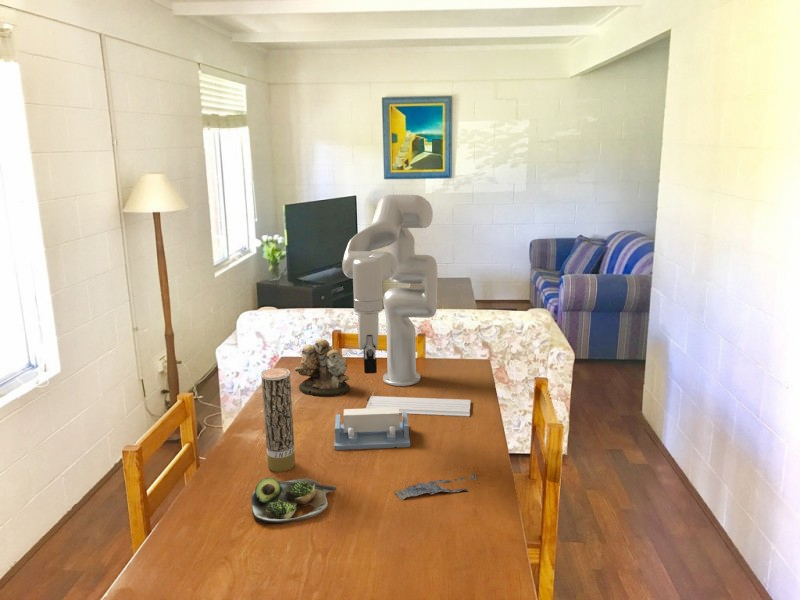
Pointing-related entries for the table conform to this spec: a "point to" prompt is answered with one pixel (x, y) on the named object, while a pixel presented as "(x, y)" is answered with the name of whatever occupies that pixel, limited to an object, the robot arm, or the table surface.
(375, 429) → the clay bar
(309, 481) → the salad plate
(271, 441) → the paper tube
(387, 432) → the rack
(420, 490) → the driftwood
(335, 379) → the owl figurine
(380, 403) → the grooved white panel
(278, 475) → the table surface
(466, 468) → the table surface
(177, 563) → the table surface
